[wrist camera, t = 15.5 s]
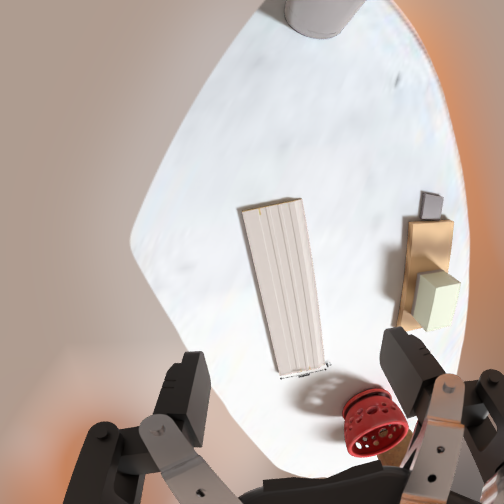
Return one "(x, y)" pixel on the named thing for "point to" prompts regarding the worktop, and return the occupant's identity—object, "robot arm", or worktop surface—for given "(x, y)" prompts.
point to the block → (394, 450)
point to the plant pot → (372, 422)
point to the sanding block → (435, 299)
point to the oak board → (423, 261)
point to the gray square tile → (431, 207)
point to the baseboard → (287, 284)
